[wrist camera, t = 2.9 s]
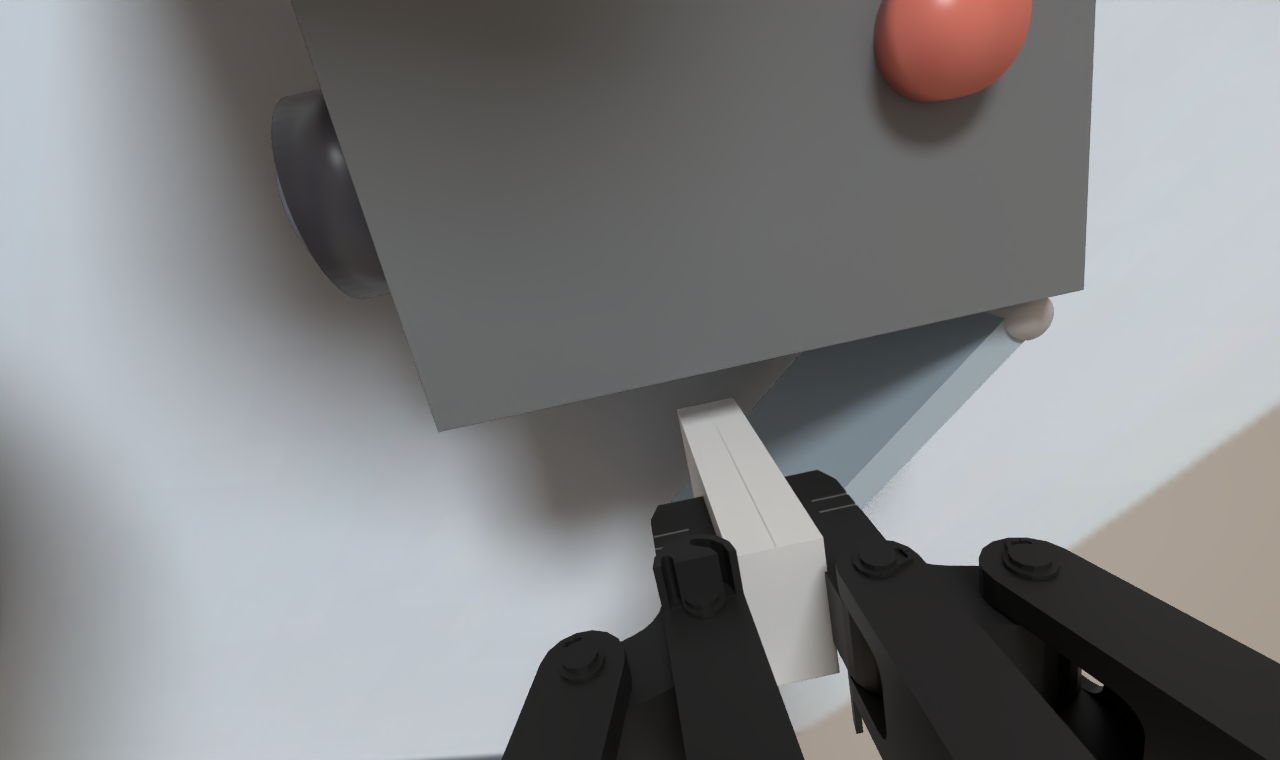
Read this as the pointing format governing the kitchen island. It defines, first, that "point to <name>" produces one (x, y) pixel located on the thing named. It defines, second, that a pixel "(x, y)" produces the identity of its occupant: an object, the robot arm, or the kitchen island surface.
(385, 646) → the kitchen island surface
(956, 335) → the side door
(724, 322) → the camera block
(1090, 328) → the kitchen island surface
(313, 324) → the kitchen island surface
